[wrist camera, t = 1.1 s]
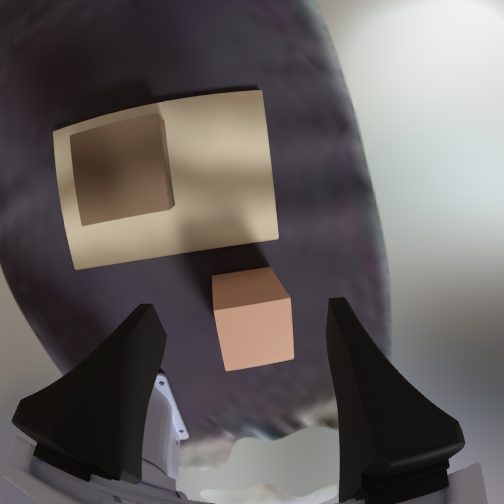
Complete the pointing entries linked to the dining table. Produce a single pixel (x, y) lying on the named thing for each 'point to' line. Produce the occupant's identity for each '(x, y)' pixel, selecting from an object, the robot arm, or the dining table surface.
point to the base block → (122, 170)
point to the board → (185, 183)
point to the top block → (252, 318)
